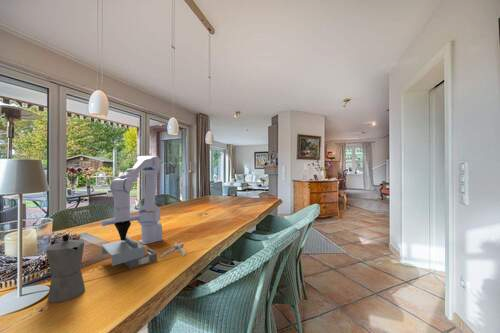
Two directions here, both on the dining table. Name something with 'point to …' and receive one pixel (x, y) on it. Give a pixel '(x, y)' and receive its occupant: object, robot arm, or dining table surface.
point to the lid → (123, 250)
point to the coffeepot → (65, 269)
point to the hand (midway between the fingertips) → (122, 239)
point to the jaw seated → (145, 250)
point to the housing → (143, 259)
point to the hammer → (174, 249)
